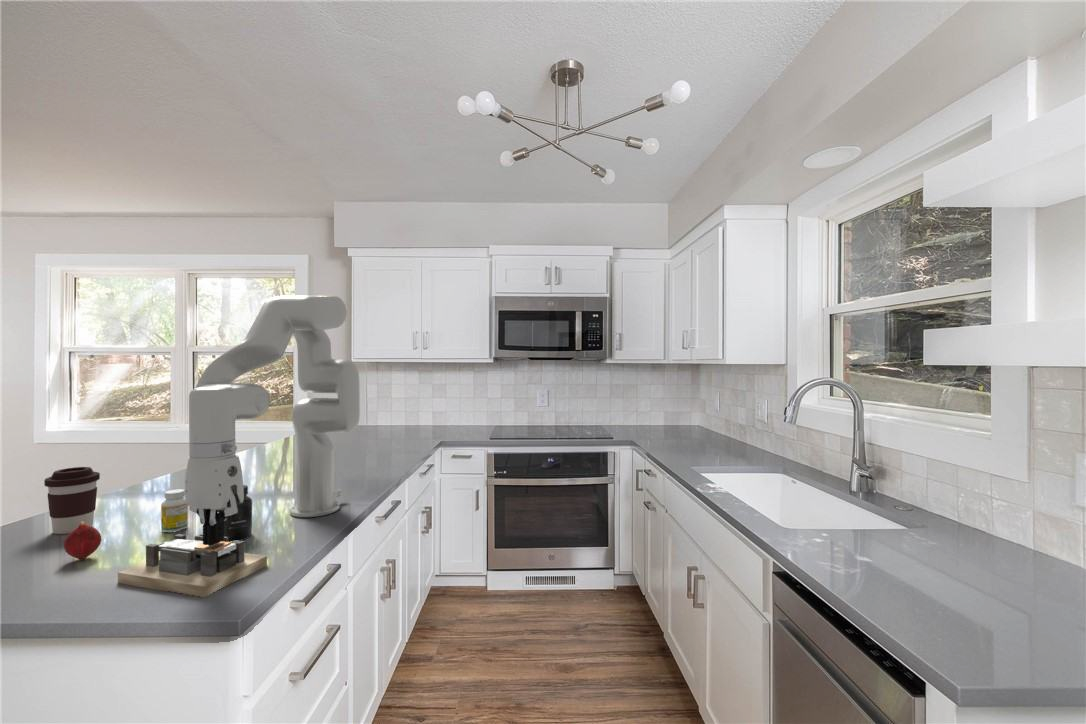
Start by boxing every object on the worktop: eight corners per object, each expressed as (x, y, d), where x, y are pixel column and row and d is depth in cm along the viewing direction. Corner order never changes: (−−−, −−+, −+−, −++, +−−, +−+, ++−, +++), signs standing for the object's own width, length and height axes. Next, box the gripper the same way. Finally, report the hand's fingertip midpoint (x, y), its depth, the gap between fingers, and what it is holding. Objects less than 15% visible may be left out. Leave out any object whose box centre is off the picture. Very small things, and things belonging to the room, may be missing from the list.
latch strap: (174, 544, 102) (173, 537, 102) (236, 549, 97) (236, 542, 97) (154, 551, 98) (154, 544, 98) (218, 557, 94) (217, 549, 94)
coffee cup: (42, 540, 115) (42, 476, 115) (46, 529, 123) (46, 469, 122) (99, 530, 122) (99, 470, 121) (100, 520, 129) (100, 463, 129)
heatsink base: (188, 554, 107) (188, 526, 107) (266, 565, 102) (266, 535, 102) (117, 582, 94) (117, 550, 94) (203, 597, 88) (203, 563, 88)
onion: (107, 556, 106) (107, 519, 106) (75, 566, 101) (74, 527, 101) (90, 552, 108) (90, 516, 108) (57, 562, 103) (57, 524, 103)
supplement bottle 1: (184, 531, 121) (184, 492, 121) (158, 534, 119) (157, 495, 119) (190, 524, 126) (190, 487, 126) (165, 527, 124) (165, 489, 124)
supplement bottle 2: (236, 543, 113) (236, 491, 113) (211, 541, 115) (211, 490, 115) (259, 533, 120) (258, 484, 120) (235, 531, 122) (235, 482, 121)
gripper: (259, 448, 98) (260, 539, 98) (201, 444, 102) (201, 532, 102) (226, 455, 91) (226, 554, 91) (164, 451, 95) (165, 545, 95)
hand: (213, 542), depth 97 cm, fingers closed
